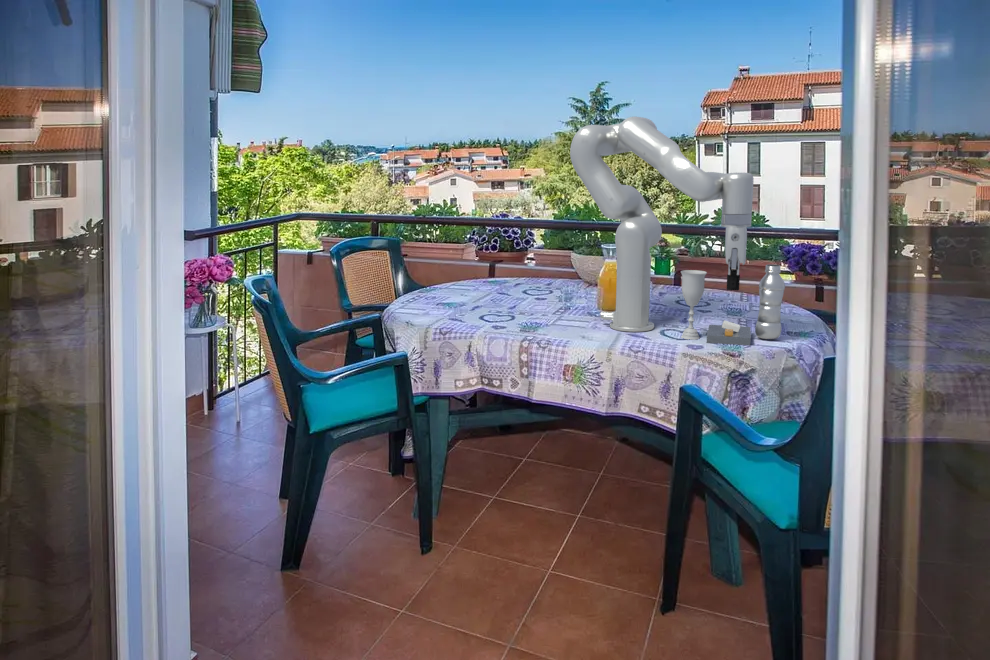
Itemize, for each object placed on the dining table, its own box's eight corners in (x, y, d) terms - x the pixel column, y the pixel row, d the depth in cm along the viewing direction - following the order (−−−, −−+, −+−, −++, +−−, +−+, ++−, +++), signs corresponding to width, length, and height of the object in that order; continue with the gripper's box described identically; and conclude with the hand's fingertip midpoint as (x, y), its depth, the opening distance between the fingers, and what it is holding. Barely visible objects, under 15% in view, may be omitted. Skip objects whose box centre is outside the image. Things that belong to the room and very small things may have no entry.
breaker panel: (706, 342, 202) (707, 330, 201) (709, 331, 215) (709, 320, 214) (750, 345, 198) (751, 333, 198) (750, 333, 211) (750, 322, 211)
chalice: (708, 339, 205) (711, 273, 201) (684, 341, 204) (688, 274, 200) (695, 333, 212) (699, 269, 208) (673, 335, 211) (675, 270, 207)
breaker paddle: (721, 327, 205) (723, 322, 205) (722, 324, 208) (723, 320, 207) (738, 332, 204) (739, 327, 203) (738, 329, 207) (739, 325, 206)
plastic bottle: (759, 335, 210) (764, 263, 206) (784, 338, 206) (790, 265, 201) (750, 339, 205) (755, 265, 201) (776, 343, 201) (781, 267, 196)
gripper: (751, 223, 191) (747, 294, 195) (751, 218, 205) (747, 286, 209) (720, 222, 194) (717, 293, 198) (722, 218, 208) (719, 285, 212)
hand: (732, 289), depth 203 cm, fingers closed
